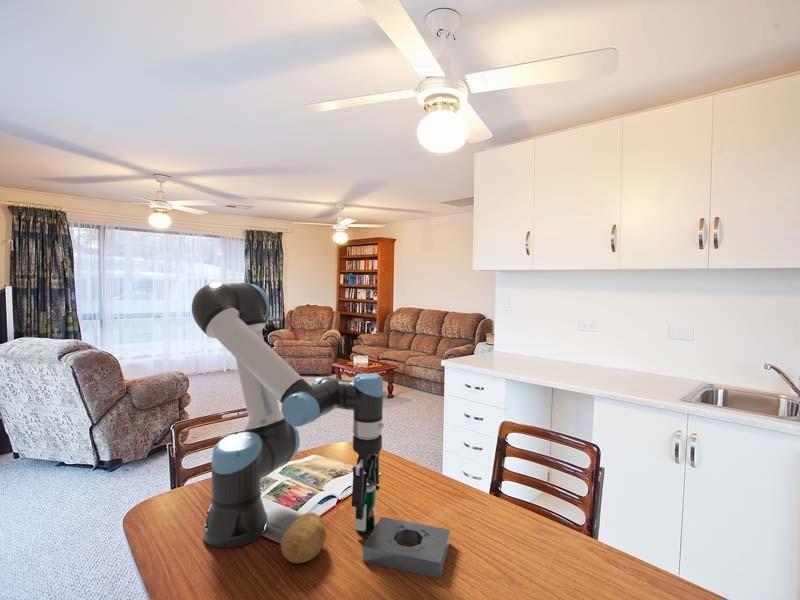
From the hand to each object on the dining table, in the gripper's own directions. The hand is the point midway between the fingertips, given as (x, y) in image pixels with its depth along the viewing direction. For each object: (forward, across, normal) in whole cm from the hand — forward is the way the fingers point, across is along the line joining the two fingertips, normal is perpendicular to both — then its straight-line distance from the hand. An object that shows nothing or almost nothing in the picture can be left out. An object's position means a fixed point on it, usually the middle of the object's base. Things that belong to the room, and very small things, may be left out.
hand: (365, 521), depth 108 cm
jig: (+2, -6, -13) cm, 14 cm away
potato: (+2, -14, +10) cm, 17 cm away
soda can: (+2, 0, 0) cm, 2 cm away
